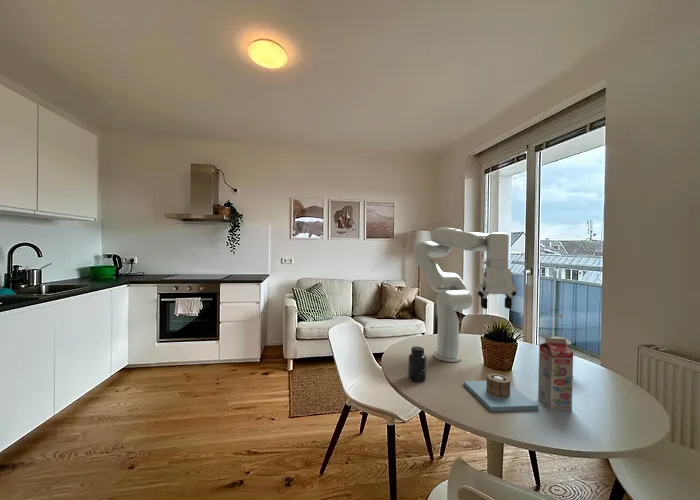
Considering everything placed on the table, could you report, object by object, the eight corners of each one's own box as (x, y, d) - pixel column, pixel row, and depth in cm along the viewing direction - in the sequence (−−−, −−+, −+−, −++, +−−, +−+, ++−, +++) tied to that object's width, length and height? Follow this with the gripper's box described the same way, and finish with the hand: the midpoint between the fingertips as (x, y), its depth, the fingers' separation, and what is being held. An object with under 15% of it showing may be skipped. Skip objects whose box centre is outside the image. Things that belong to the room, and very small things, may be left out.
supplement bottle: (426, 383, 111) (427, 351, 111) (407, 381, 112) (408, 350, 112) (425, 376, 118) (426, 346, 118) (408, 374, 119) (408, 344, 119)
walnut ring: (483, 387, 105) (483, 373, 105) (501, 387, 106) (501, 373, 106) (494, 397, 98) (494, 382, 98) (514, 397, 99) (514, 382, 99)
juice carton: (538, 399, 101) (539, 335, 101) (557, 399, 101) (559, 335, 101) (550, 409, 95) (552, 341, 94) (571, 410, 94) (573, 341, 94)
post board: (463, 385, 110) (463, 367, 110) (503, 384, 112) (504, 367, 112) (490, 411, 93) (491, 390, 93) (538, 410, 94) (538, 389, 94)
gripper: (481, 264, 110) (480, 310, 110) (524, 265, 112) (523, 310, 112) (471, 263, 117) (470, 306, 118) (511, 264, 119) (510, 306, 119)
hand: (496, 308), depth 115 cm, fingers open, 9 cm apart
